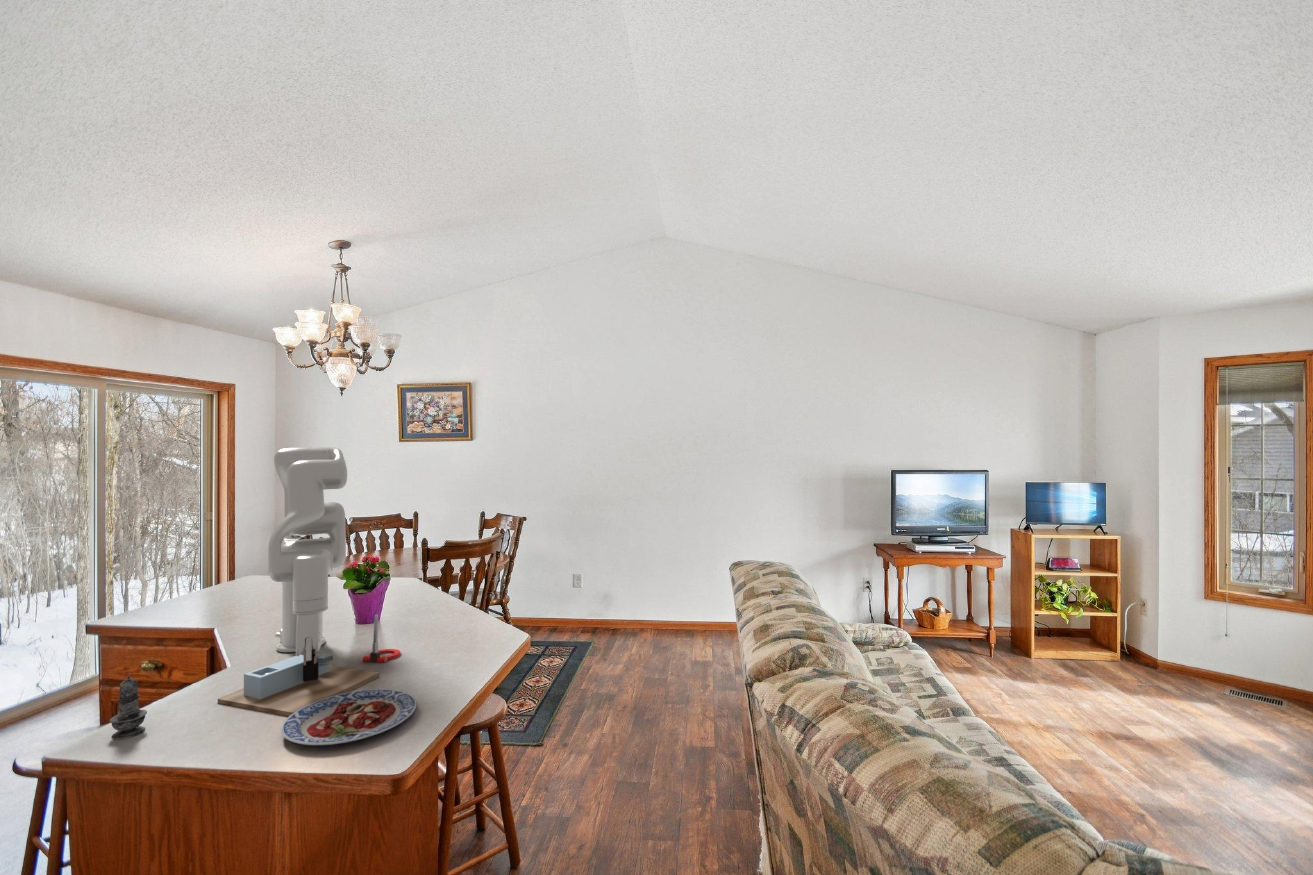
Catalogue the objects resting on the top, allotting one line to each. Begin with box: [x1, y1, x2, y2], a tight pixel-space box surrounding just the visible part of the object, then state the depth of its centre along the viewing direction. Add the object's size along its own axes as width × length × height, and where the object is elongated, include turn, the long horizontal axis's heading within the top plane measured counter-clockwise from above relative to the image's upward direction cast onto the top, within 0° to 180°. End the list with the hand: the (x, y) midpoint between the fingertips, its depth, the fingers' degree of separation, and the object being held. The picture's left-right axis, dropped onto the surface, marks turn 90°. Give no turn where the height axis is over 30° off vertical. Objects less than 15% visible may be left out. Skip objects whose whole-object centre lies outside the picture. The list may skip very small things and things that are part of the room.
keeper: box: [293, 651, 334, 663], centre depth 154 cm, size 10×3×4 cm, turn 71°
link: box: [243, 655, 330, 699], centre depth 146 cm, size 18×6×5 cm, turn 157°
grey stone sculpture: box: [109, 674, 148, 740], centre depth 123 cm, size 6×6×12 cm
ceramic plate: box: [280, 688, 417, 746], centre depth 127 cm, size 26×26×3 cm
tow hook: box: [362, 614, 401, 663], centre depth 167 cm, size 8×13×9 cm
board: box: [217, 665, 380, 717], centre depth 145 cm, size 24×24×1 cm
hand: (310, 679), depth 146 cm, fingers closed
